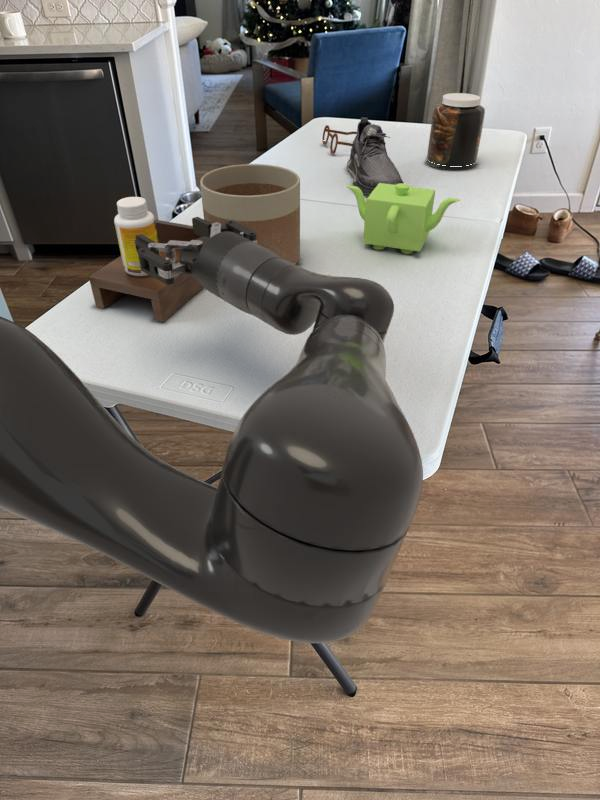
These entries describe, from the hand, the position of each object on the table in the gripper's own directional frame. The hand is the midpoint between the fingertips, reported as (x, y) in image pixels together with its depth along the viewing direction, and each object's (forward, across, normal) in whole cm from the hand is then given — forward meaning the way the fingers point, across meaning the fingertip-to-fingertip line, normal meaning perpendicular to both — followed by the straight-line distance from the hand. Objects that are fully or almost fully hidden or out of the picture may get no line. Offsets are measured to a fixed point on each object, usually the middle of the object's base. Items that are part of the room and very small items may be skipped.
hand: (167, 232), depth 75 cm
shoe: (+22, +67, -14) cm, 72 cm away
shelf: (+10, +2, -14) cm, 17 cm away
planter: (+9, +21, -14) cm, 27 cm away
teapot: (-3, +44, -14) cm, 47 cm away
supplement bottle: (+9, 0, -9) cm, 13 cm away
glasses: (+44, +83, -14) cm, 95 cm away
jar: (+18, +92, -14) cm, 95 cm away
